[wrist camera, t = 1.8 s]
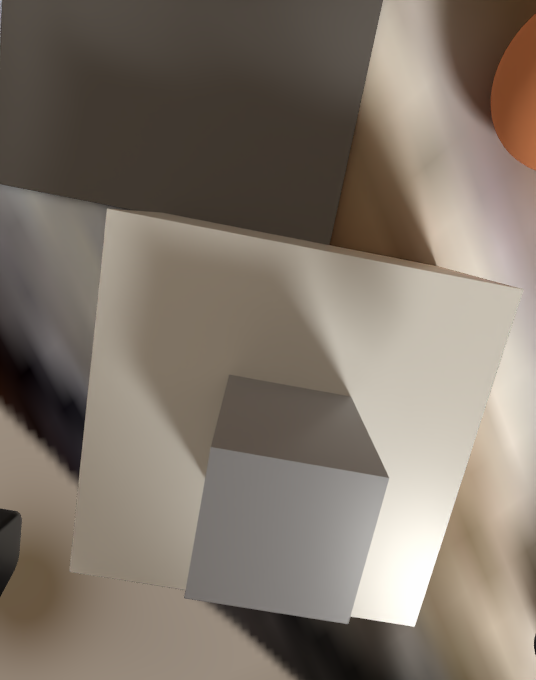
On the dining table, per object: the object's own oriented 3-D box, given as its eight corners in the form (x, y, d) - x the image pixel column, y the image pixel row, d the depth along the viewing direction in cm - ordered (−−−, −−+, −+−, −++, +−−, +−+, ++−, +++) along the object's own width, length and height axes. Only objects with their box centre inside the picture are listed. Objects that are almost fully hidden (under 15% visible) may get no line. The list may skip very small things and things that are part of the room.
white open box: (371, 506, 20) (470, 781, 10) (129, 465, 20) (-11, 711, 10) (437, 265, 18) (651, 324, 8) (163, 212, 17) (21, 202, 7)
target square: (327, 247, 17) (328, 247, 17) (-4, 183, 17) (-7, 182, 17) (413, -146, 14) (415, -151, 14) (17, -239, 14) (13, -246, 14)
